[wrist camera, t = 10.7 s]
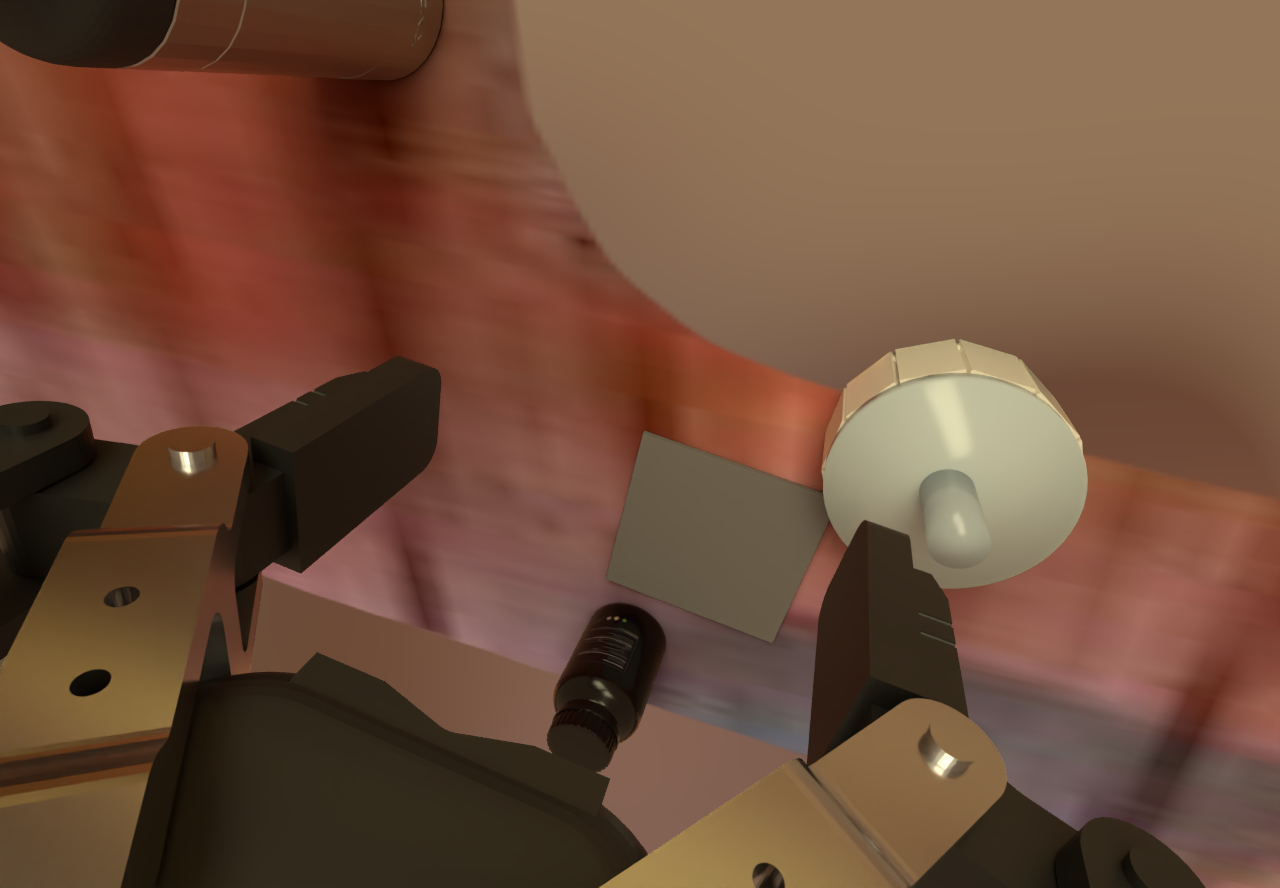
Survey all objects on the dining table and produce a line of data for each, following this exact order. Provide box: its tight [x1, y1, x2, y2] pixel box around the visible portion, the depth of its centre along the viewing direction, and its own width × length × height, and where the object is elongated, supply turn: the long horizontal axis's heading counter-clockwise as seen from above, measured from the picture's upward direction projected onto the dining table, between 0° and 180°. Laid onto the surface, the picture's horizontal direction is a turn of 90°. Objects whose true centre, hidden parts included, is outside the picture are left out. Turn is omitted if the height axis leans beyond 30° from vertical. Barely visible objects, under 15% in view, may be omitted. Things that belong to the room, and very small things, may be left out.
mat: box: [606, 431, 830, 643], centre depth 49 cm, size 14×14×1 cm
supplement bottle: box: [547, 603, 666, 772], centre depth 50 cm, size 7×7×12 cm
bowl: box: [821, 339, 1083, 477], centre depth 39 cm, size 13×13×5 cm
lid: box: [823, 373, 1088, 588], centre depth 34 cm, size 13×13×6 cm
